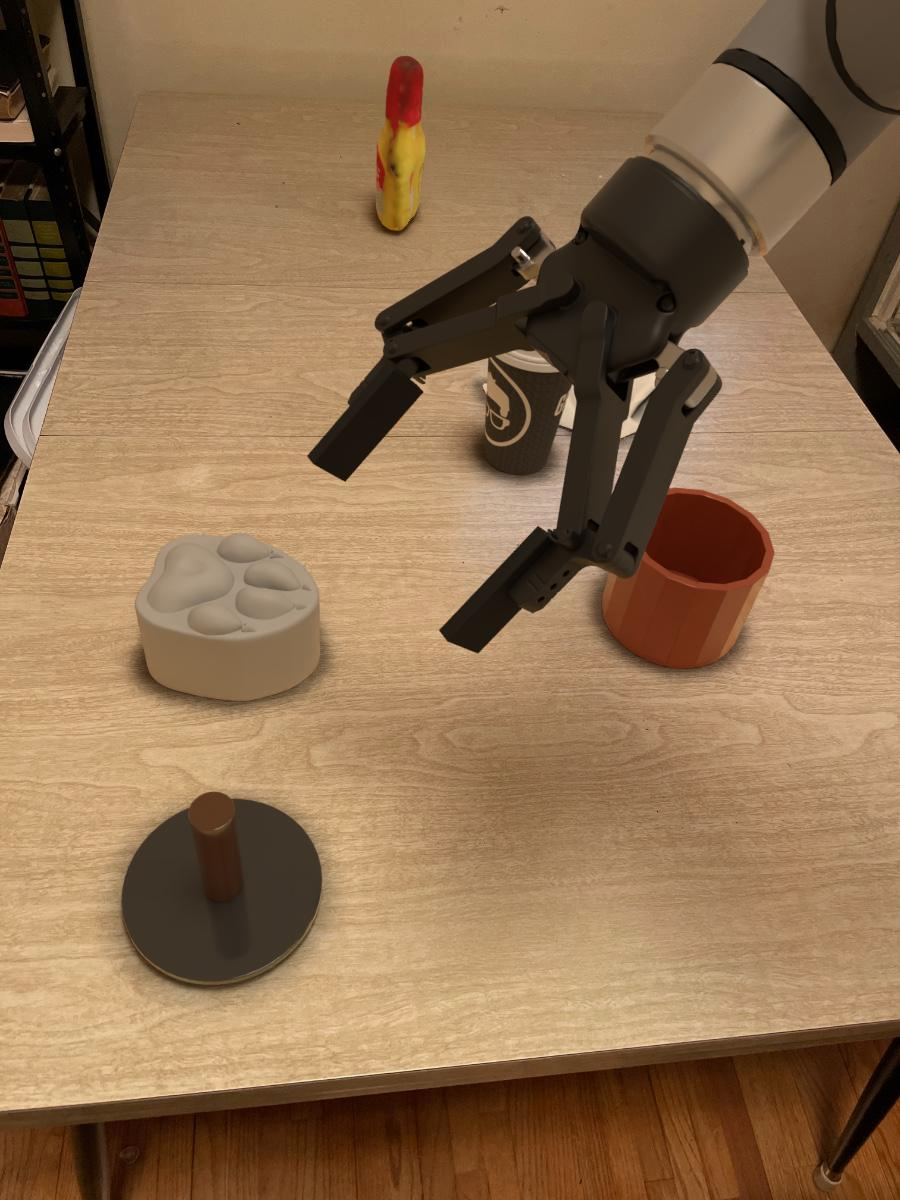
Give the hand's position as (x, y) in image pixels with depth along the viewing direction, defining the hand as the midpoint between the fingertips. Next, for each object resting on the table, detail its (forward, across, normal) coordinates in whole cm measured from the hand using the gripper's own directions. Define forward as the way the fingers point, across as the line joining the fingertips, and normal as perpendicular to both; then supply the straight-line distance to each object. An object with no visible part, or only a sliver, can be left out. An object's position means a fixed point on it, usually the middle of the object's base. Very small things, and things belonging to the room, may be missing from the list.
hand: (386, 549), depth 48 cm
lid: (+26, 0, -11) cm, 28 cm away
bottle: (-14, +79, -52) cm, 96 cm away
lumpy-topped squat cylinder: (+20, +18, -18) cm, 33 cm away
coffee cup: (-4, +30, -42) cm, 52 cm away
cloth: (-14, +33, -52) cm, 63 cm away
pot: (-4, +5, -42) cm, 42 cm away
